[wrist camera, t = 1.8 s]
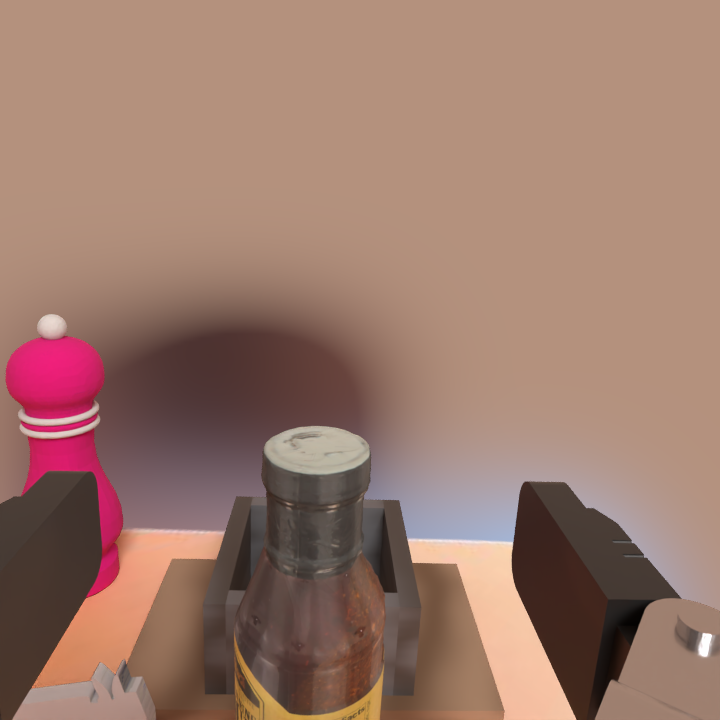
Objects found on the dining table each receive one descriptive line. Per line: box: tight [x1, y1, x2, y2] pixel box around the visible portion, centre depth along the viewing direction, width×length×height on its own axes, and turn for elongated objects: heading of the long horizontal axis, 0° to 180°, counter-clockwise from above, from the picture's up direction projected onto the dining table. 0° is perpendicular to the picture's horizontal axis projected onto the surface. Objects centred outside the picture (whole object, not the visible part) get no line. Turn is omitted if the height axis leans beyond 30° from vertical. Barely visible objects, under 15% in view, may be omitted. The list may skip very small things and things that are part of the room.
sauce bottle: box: [234, 426, 386, 720], centre depth 26 cm, size 7×6×20 cm
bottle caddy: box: [127, 497, 504, 720], centre depth 40 cm, size 22×14×7 cm, turn 92°
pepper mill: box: [6, 314, 123, 598], centre depth 43 cm, size 7×7×20 cm
